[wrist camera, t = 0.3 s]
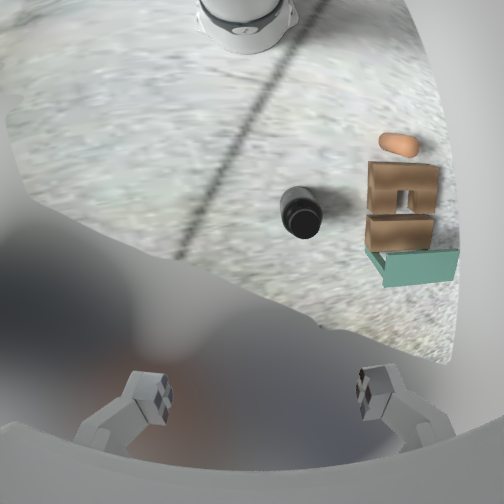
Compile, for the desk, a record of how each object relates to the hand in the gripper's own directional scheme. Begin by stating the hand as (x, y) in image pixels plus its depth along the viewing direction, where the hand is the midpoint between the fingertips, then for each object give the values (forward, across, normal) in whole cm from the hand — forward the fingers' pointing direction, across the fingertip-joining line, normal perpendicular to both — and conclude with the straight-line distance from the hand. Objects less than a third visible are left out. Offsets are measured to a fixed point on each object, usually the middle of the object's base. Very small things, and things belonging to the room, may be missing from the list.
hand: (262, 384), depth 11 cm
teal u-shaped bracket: (+46, -27, +14) cm, 56 cm away
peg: (+47, -24, -6) cm, 53 cm away
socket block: (+47, -27, +6) cm, 54 cm away
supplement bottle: (+47, -6, +6) cm, 48 cm away
